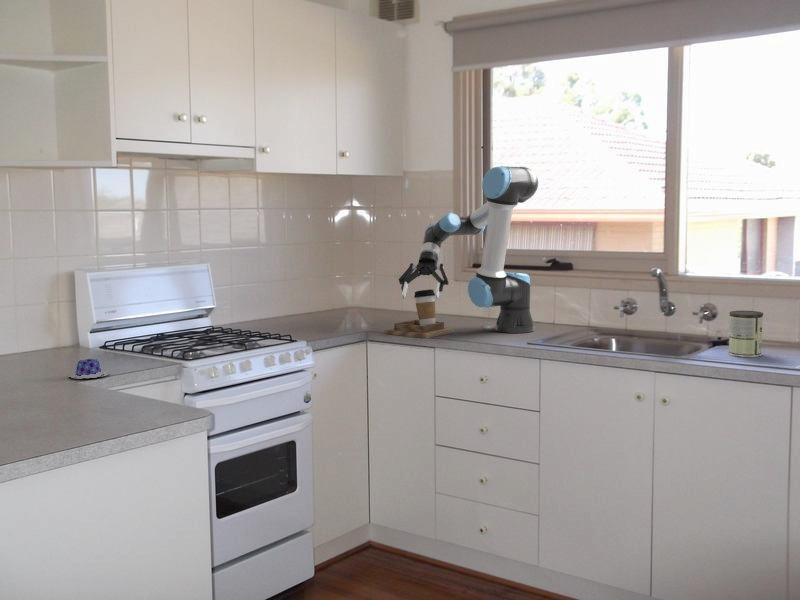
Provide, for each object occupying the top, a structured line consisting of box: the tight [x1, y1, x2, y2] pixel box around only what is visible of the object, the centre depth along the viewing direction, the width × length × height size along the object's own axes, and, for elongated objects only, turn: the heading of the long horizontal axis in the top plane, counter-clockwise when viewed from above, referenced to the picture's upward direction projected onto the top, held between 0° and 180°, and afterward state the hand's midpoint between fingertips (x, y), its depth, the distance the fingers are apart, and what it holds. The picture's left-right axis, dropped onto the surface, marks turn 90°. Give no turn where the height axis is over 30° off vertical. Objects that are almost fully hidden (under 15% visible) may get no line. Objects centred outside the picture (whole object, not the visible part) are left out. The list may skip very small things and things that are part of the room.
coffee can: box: [728, 310, 764, 358], centre depth 290 cm, size 10×10×14 cm
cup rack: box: [384, 319, 454, 339], centre depth 346 cm, size 20×18×4 cm
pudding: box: [75, 358, 102, 376], centre depth 266 cm, size 12×12×5 cm
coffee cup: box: [413, 289, 436, 326], centre depth 346 cm, size 8×8×15 cm
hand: (419, 297), depth 348 cm, fingers open, 13 cm apart
